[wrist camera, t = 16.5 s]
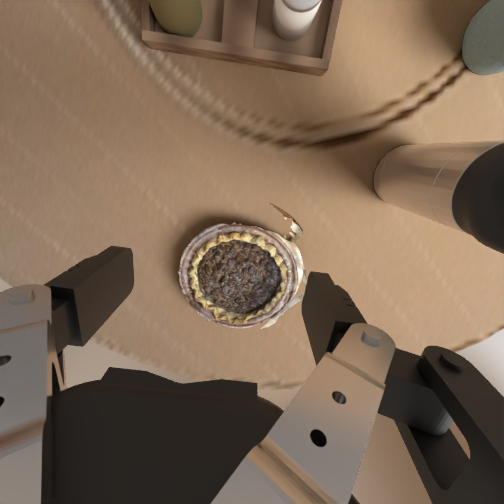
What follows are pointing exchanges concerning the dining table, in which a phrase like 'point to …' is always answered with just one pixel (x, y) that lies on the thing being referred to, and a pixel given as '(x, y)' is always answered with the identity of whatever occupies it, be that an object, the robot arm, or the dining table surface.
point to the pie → (242, 273)
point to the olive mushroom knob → (178, 16)
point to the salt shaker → (293, 17)
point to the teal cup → (485, 40)
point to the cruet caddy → (249, 36)
